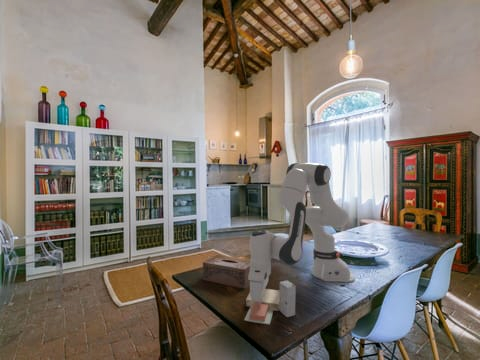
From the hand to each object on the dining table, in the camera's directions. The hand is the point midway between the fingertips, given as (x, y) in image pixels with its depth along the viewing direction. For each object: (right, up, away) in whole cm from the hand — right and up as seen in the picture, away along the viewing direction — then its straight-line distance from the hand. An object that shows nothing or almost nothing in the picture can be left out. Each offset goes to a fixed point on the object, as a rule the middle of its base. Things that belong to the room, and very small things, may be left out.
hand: (260, 301), depth 99 cm
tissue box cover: (-14, -4, +32) cm, 35 cm away
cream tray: (+2, -4, +7) cm, 9 cm away
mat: (-1, -4, -3) cm, 5 cm away
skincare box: (+11, -4, -2) cm, 12 cm away
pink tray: (-1, -4, -3) cm, 5 cm away
